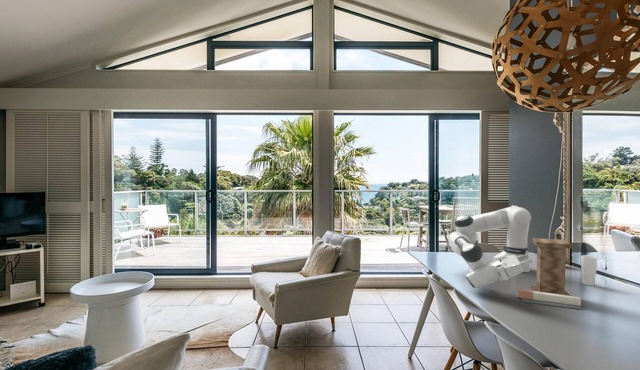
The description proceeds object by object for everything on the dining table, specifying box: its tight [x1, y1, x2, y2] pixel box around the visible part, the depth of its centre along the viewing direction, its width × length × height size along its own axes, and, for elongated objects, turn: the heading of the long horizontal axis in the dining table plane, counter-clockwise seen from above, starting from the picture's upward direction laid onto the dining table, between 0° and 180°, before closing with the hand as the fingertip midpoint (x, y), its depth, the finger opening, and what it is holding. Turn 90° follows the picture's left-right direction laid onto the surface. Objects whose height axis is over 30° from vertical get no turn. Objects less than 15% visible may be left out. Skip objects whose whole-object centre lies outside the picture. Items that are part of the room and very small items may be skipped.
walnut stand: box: [530, 237, 573, 296], centre depth 164 cm, size 14×12×26 cm
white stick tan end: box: [516, 288, 582, 307], centre depth 153 cm, size 24×3×3 cm, turn 64°
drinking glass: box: [580, 254, 598, 287], centre depth 178 cm, size 7×7×15 cm
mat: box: [520, 298, 583, 311], centre depth 153 cm, size 22×11×1 cm, turn 66°
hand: (529, 258), depth 156 cm, fingers open, 8 cm apart
